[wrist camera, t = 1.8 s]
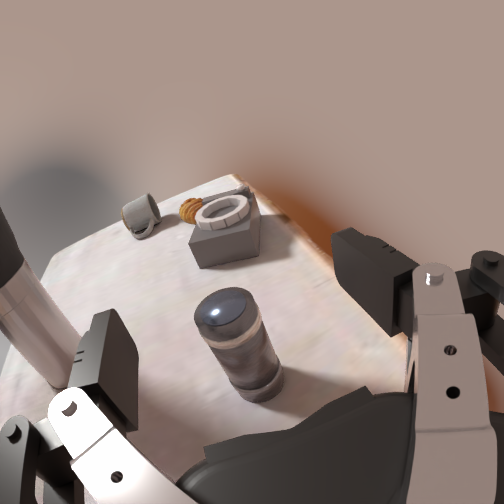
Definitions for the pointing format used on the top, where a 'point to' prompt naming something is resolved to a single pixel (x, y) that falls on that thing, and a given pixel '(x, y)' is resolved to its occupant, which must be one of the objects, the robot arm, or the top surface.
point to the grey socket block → (226, 228)
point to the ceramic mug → (141, 215)
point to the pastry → (190, 210)
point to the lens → (240, 343)
